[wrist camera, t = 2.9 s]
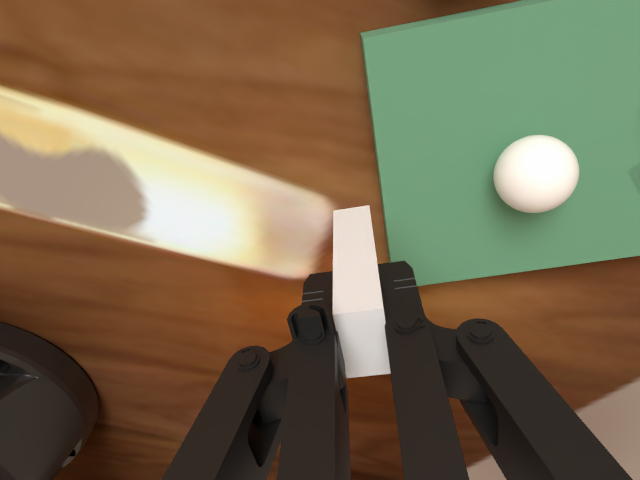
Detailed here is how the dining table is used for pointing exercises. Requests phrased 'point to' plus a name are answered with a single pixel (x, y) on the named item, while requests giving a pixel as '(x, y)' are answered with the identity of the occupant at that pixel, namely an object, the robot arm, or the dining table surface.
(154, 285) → the dining table surface
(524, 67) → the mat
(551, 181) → the ball
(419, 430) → the robot arm
